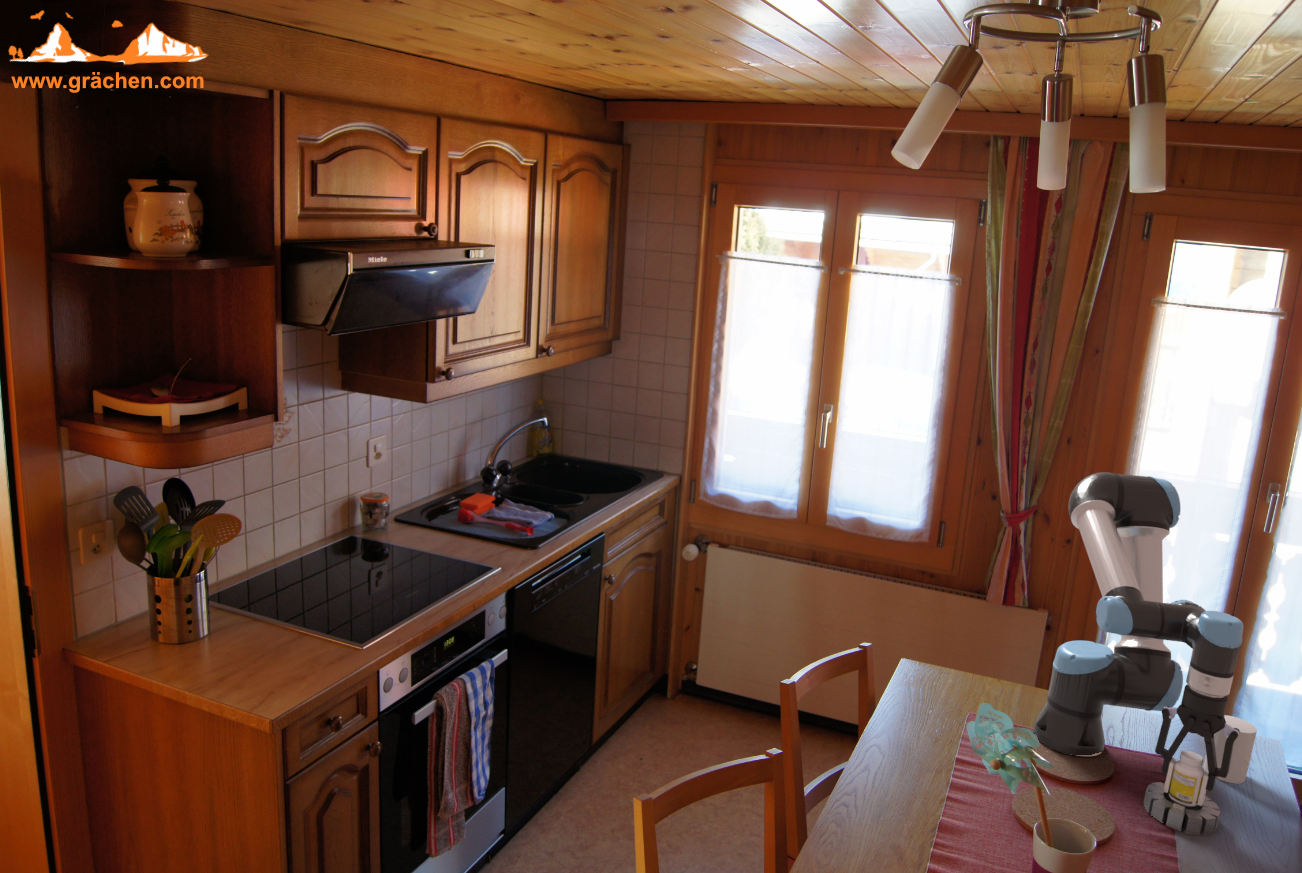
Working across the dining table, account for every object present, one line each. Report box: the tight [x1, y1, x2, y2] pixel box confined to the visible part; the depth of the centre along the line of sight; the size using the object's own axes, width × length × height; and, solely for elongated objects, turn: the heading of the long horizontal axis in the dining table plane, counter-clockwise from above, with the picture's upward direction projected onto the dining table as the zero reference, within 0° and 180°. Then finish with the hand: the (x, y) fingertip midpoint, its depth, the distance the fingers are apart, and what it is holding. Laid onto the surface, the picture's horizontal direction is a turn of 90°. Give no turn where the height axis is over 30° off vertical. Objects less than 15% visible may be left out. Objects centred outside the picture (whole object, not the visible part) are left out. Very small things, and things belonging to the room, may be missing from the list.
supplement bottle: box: [1169, 750, 1206, 806], centre depth 188 cm, size 5×5×10 cm
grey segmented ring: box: [1143, 781, 1221, 836], centre depth 189 cm, size 13×13×4 cm
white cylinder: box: [1202, 714, 1258, 784], centre depth 208 cm, size 8×8×12 cm
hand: (1183, 795), depth 189 cm, fingers closed on supplement bottle, 5 cm apart
